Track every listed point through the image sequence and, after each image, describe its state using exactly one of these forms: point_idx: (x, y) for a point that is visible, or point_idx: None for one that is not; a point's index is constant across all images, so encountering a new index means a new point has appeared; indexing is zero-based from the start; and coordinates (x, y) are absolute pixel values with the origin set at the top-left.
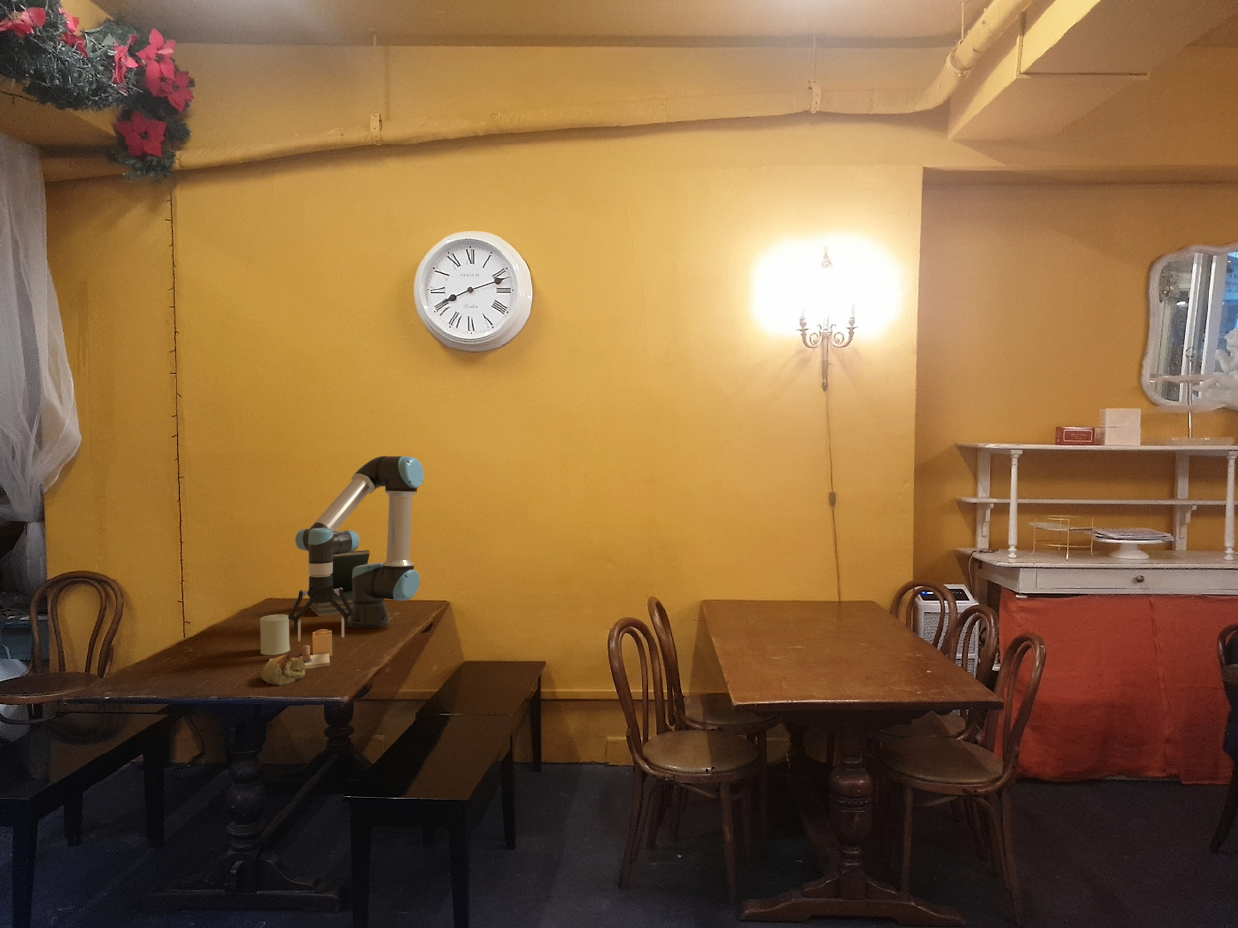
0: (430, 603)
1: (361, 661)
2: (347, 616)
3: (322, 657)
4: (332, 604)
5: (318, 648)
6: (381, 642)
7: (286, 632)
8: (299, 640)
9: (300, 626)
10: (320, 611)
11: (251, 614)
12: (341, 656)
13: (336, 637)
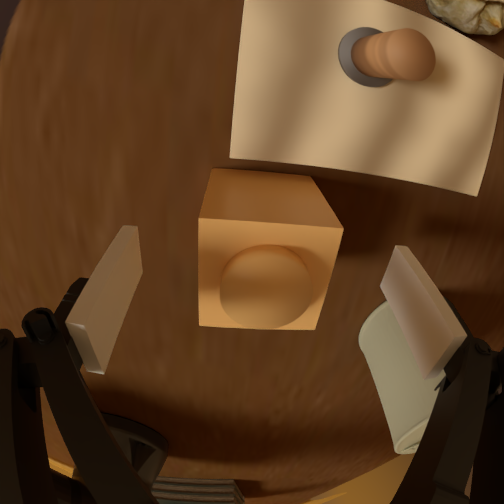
0: (50, 454)
1: (84, 16)
2: (27, 317)
3: (275, 89)
4: (145, 496)
5: (289, 190)
6: (33, 288)
7: (405, 366)
8: (401, 246)
9: (420, 325)
10: (229, 487)
11: (331, 485)
12: (167, 136)
13: (192, 392)
